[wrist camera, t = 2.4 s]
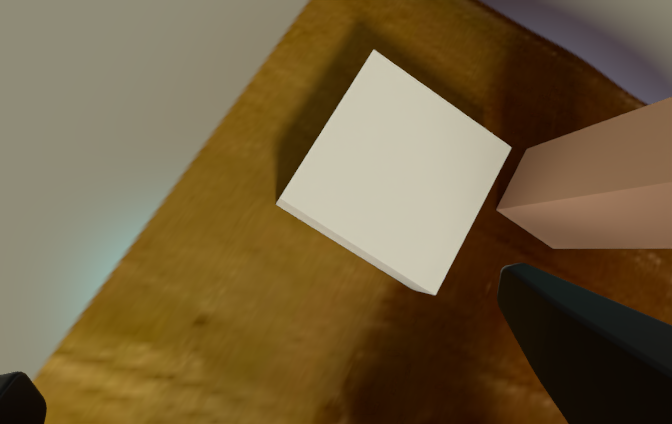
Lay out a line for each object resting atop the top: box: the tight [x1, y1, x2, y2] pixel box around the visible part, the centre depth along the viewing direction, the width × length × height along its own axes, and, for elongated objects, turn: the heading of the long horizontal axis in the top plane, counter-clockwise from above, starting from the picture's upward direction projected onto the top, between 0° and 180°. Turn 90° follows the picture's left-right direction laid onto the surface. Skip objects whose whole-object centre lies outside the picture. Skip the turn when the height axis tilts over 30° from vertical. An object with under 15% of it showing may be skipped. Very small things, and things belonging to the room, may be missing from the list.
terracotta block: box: [496, 97, 672, 249], centre depth 21 cm, size 5×5×13 cm
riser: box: [276, 50, 512, 295], centre depth 24 cm, size 10×10×3 cm
